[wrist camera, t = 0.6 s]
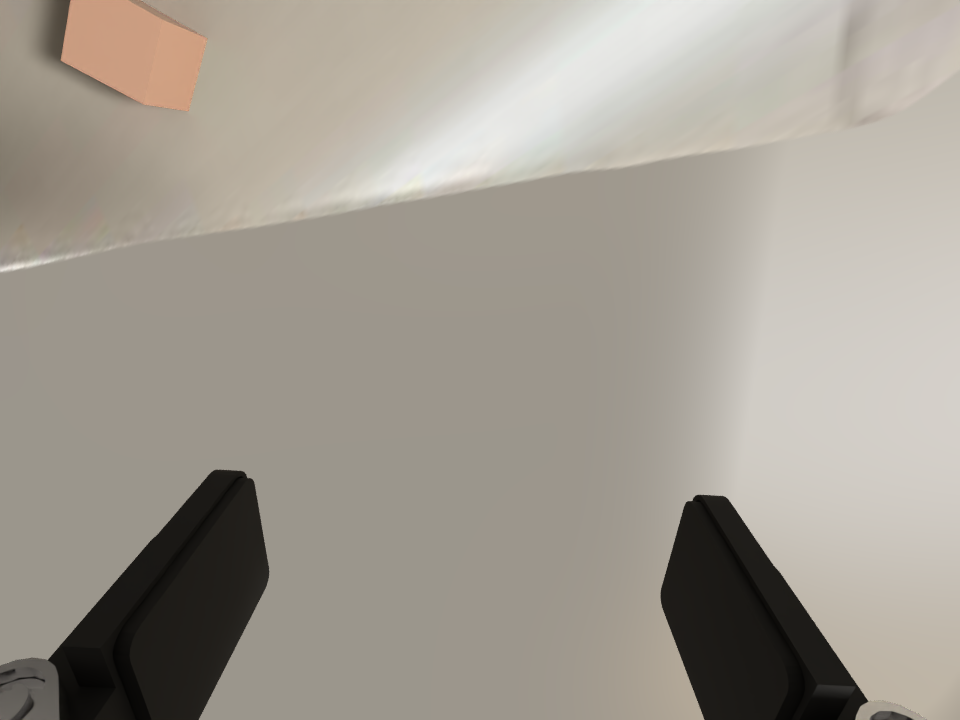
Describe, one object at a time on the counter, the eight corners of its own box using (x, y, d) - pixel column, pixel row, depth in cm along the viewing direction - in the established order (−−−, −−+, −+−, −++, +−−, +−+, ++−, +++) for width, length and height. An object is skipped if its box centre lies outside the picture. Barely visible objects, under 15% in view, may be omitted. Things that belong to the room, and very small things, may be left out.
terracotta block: (134, -3, 32) (75, -30, 27) (208, 38, 33) (162, 19, 28) (118, 73, 34) (60, 60, 29) (189, 111, 35) (143, 104, 30)
